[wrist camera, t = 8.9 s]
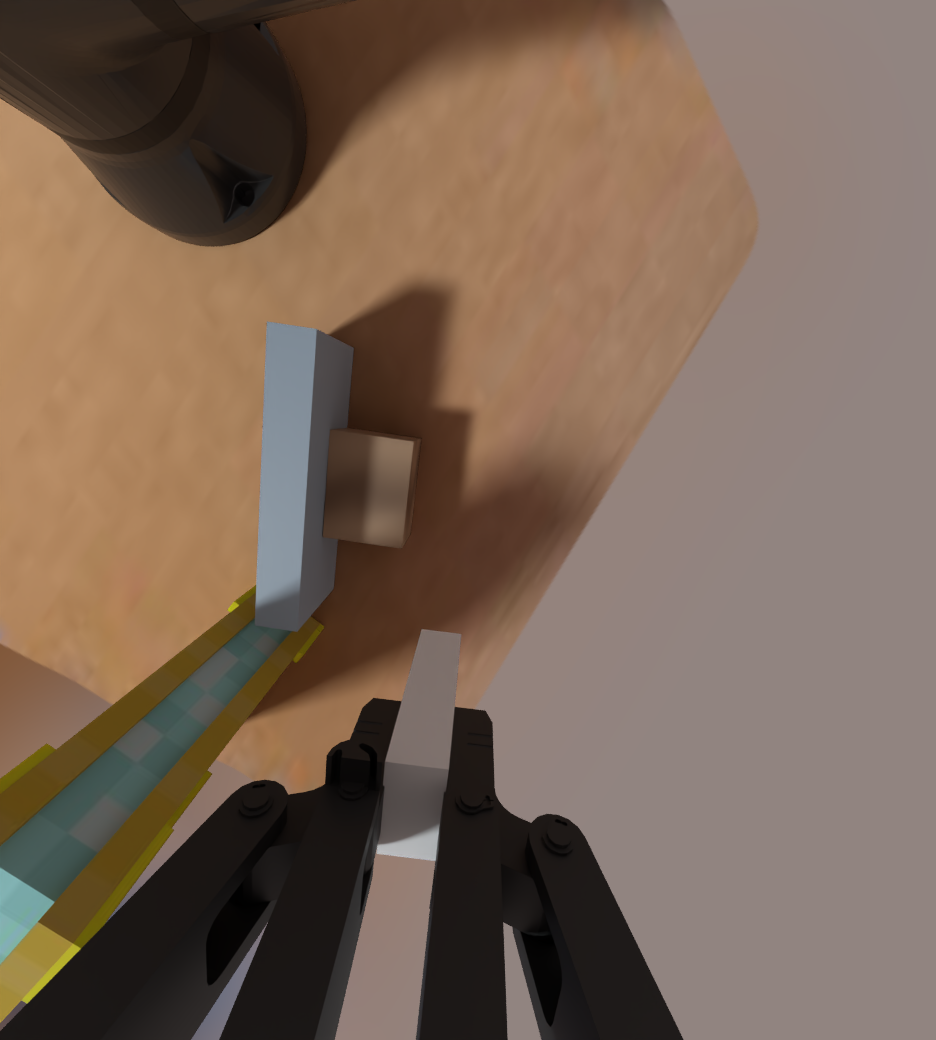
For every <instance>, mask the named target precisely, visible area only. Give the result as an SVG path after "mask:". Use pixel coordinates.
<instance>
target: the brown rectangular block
mask: <svg viewBox="0 0 936 1040" xmlns="http://www.w3.org/2000/svg"><path fill="white" fill-rule="evenodd" d="M421 439H422V438H416V437H409V436H402V435H395V434H388V433H381V432H374V431H367V430H360V429H353V428H341V429H332V430H330V436H329V451H328V466H327V481H326V496H325V511H324V526H323V537H324V538H331V539H338V540H345V541H352V542H359V543H366V544H373V545H380V546H387V547H394V548H401V549H402V548H403V546H404V544H405V543H406V541H407V539H408V538H409V536H410V534H411V527H412V518H413V510H414V501H415V492H416V483H417V474H418V466H419V457H420V448H421Z"/></svg>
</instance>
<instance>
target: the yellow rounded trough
mask: <svg viewBox="0 0 936 1040" xmlns="http://www.w3.org/2000/svg"><path fill="white" fill-rule="evenodd" d="M255 607H256V585H255V586H254V587H253V588H251V589H250V590H249V591H248V592H246V593H245V594H244V595H242V596H241V597H240V598H238V599H237V600H236V601H234V602H233V604H232V605H231V606H230V607H229V609H228V611H229V612H230V613H229V614H228V615H226V616H225V617H224V618H223V619H221V620H220V621H219V622H218V623H216V624H215V625H214V626H213V627H211V628H210V629H209V630H207V631H206V632H205V633H204V634H202V635H201V636H200V637H199V638H197V639H196V640H195V641H193V642H192V643H191V644H190V645H188V646H187V647H186V648H185V649H183V650H182V651H181V652H180V653H178V654H177V655H176V656H174V657H173V658H172V659H171V660H169V661H168V662H167V663H166V664H164V665H163V666H162V667H161V668H159V669H158V670H157V671H155V672H154V673H153V674H152V675H150V676H149V677H148V678H147V679H145V680H144V681H143V682H142V683H140V684H139V685H138V686H136V687H135V688H134V689H133V690H131V691H130V692H129V693H128V694H126V695H125V696H124V697H122V698H121V699H120V700H119V701H117V702H116V703H115V704H114V705H112V706H111V707H110V708H109V709H107V710H106V711H105V712H103V713H102V714H101V715H100V716H98V717H97V718H96V719H95V720H93V721H92V722H91V723H90V724H88V725H87V726H86V727H85V728H83V729H82V730H81V731H79V732H78V733H77V734H76V735H74V736H73V737H72V738H71V739H69V740H68V741H67V742H65V743H64V744H63V745H62V746H60V747H59V748H58V749H57V750H56V749H54V748H53V747H51V746H50V745H48V744H45V745H44V746H43V747H41V748H40V749H39V750H38V751H36V752H35V753H34V754H32V755H31V756H30V757H28V758H27V759H26V760H24V761H23V762H22V763H20V764H19V765H18V766H16V767H15V768H14V769H12V770H11V771H10V772H8V773H7V774H6V775H4V776H3V777H2V778H1V779H0V1023H1V1022H2V1020H3V1019H4V1018H5V1017H6V1016H7V1015H8V1014H9V1013H10V1012H11V1011H12V1009H13V1008H14V1007H15V1006H16V1005H17V1004H18V1003H19V1002H20V1001H21V1000H22V1001H24V1002H26V1003H28V1002H29V1001H30V1000H31V999H32V998H33V997H34V996H35V995H36V994H37V993H38V992H39V991H40V990H41V989H42V988H43V987H44V986H45V985H46V984H47V983H48V982H49V981H50V980H51V979H52V978H53V977H54V976H55V975H56V974H57V973H58V972H59V971H60V970H61V969H62V968H63V966H64V965H65V964H66V963H67V962H68V961H69V960H70V959H71V958H72V957H73V956H74V955H75V954H76V953H77V952H78V951H79V950H80V949H81V948H82V947H83V946H84V945H85V944H86V943H87V942H88V941H89V940H90V939H91V938H92V937H93V936H94V935H95V934H96V933H97V932H98V931H99V930H100V929H101V928H102V927H103V926H104V924H105V923H106V922H107V920H108V919H109V917H110V916H111V915H112V913H113V912H114V911H115V909H116V908H117V907H118V905H119V904H120V902H121V901H122V900H123V898H124V897H125V896H126V894H127V893H128V892H129V890H130V889H131V888H132V886H133V885H134V883H135V882H136V881H137V880H138V878H139V877H140V875H141V874H142V873H143V871H144V870H145V869H146V867H147V866H148V865H149V863H150V862H151V860H152V859H153V858H154V857H155V855H156V854H157V852H158V851H159V850H160V848H161V847H162V846H163V844H164V843H165V842H166V840H167V839H168V838H169V836H170V835H171V834H172V832H173V831H174V830H173V829H172V827H173V826H174V824H175V823H176V822H177V820H178V819H179V818H180V816H181V815H182V814H183V812H184V811H185V809H186V808H187V807H188V805H189V804H190V803H191V802H192V800H193V799H194V798H195V796H196V795H197V793H198V792H199V791H200V790H201V788H202V787H203V785H204V784H205V783H206V782H207V780H208V779H209V778H210V776H211V775H212V773H210V772H209V771H207V770H208V768H209V767H210V766H211V764H212V763H213V762H214V761H215V759H216V758H217V757H218V755H219V754H220V753H221V752H222V750H223V749H224V748H225V746H226V745H227V744H228V743H229V741H230V740H231V739H232V737H233V736H234V735H235V733H236V732H237V731H238V730H239V728H240V727H241V726H242V724H243V723H244V722H245V721H246V719H247V718H248V717H249V715H250V714H251V713H252V711H253V710H254V709H255V708H256V706H257V705H258V704H259V702H260V701H261V700H262V699H263V697H264V696H265V695H266V693H267V692H268V691H269V689H270V688H271V687H272V686H273V684H274V683H275V682H276V680H277V679H278V678H279V677H280V675H281V674H282V673H283V671H284V670H285V669H286V667H287V666H288V665H289V664H290V662H291V661H292V660H293V661H294V662H295V663H297V662H298V661H299V660H300V659H301V658H302V657H303V655H304V654H305V653H306V651H307V650H308V649H309V647H310V646H311V645H312V643H313V642H314V641H315V639H316V638H317V637H318V635H319V634H320V632H321V631H322V630H323V629H324V626H323V625H321V624H320V623H319V622H318V621H316V620H315V619H314V618H313V617H311V616H310V617H309V618H308V620H307V621H306V622H305V623H304V624H303V626H302V627H301V628H300V629H299V630H298V631H297V632H295V631H289V630H282V629H275V628H269V627H262V626H255Z"/></svg>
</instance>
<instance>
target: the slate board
mask: <svg viewBox="0 0 936 1040" xmlns="http://www.w3.org/2000/svg"><path fill="white" fill-rule="evenodd" d="M353 352H354V348H353V347H351V346H349V345H347V344H345V343H343V342H341V341H339V340H337V339H335V338H333V337H331V336H329V335H327V334H325V333H323V332H321V331H319V330H317V329H312V328H306V327H299V326H293V325H286V324H280V323H273V322H267V335H266V360H265V384H264V409H263V434H262V459H261V483H260V508H259V533H258V557H257V582H256V607H255V626H262V627H269V628H275V629H282V630H289V631H295V632H297V631H298V630H299V629H300V628H301V627H302V626H303V624H304V623H305V622H306V621H307V620H308V618H309V617H310V616H311V615H312V614H313V613H314V611H315V610H316V609H317V608H318V607H319V606H320V604H321V603H322V602H323V601H324V600H325V598H326V597H327V596H328V595H329V594H330V593H331V591H332V590H333V589H334V580H335V568H336V556H337V544H338V539H331V538H324V537H323V526H324V511H325V496H326V481H327V466H328V451H329V436H330V430H332V429H341V428H347V424H348V412H349V400H350V388H351V376H352V364H353Z"/></svg>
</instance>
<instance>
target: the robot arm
mask: <svg viewBox="0 0 936 1040" xmlns="http://www.w3.org/2000/svg"><path fill="white" fill-rule="evenodd" d="M351 1H355V0H0V98H1V99H2V100H4V101H5V102H7V103H9V104H10V105H12V106H13V107H15V108H16V109H18V110H20V111H21V112H23V113H24V114H26V115H27V116H29V117H31V118H32V119H34V120H35V121H37V122H39V123H40V124H42V125H44V126H45V127H47V128H48V129H50V130H51V131H53V132H54V133H56V134H57V135H59V136H60V137H61V138H62V139H63V140H64V142H65V143H66V144H67V145H68V146H69V147H70V148H71V149H72V151H73V152H74V153H75V154H76V155H77V156H78V157H79V159H80V160H81V161H82V162H83V163H84V164H85V165H86V166H87V167H88V169H89V170H90V171H91V172H92V173H93V175H94V176H95V177H96V178H97V180H98V181H99V182H100V184H101V185H102V186H103V187H104V189H105V190H106V191H107V192H108V193H109V194H110V195H111V196H112V197H113V198H114V199H115V200H116V201H117V202H118V203H119V204H120V205H121V206H123V207H124V208H125V209H126V210H127V211H129V212H130V213H131V214H133V215H134V216H135V217H137V218H138V219H140V220H141V221H143V222H145V223H146V224H148V225H150V226H152V227H154V228H155V229H157V230H159V231H161V232H162V233H164V234H166V235H168V236H170V237H172V238H174V239H177V240H180V241H182V242H186V243H189V244H194V245H199V246H225V245H230V244H235V243H238V242H241V241H244V240H246V239H248V238H250V237H252V236H254V235H256V234H258V233H259V232H261V231H262V230H263V229H265V228H266V227H267V226H269V225H270V224H271V223H272V222H273V221H274V220H275V219H276V218H277V217H278V216H279V214H280V213H281V212H282V211H283V209H284V208H285V207H286V205H287V203H288V202H289V200H290V199H291V197H292V195H293V193H294V191H295V189H296V186H297V184H298V181H299V178H300V175H301V172H302V168H303V164H304V158H305V152H306V118H305V110H304V104H303V100H302V96H301V92H300V89H299V86H298V83H297V80H296V77H295V75H294V73H293V70H292V68H291V66H290V64H289V62H288V60H287V58H286V56H285V55H284V53H283V51H282V49H281V47H280V46H279V44H278V42H277V40H276V38H275V37H274V35H273V33H272V32H271V30H270V28H269V27H268V25H267V24H266V23H265V21H269V20H273V19H278V18H282V17H286V16H290V15H295V14H299V13H303V12H308V11H312V10H316V9H321V8H325V7H329V6H333V5H338V4H342V3H346V2H351ZM460 643H461V634H457V633H449V632H441V631H433V630H425V629H422V630H421V633H420V637H419V640H418V644H417V648H416V651H415V655H414V659H413V662H412V666H411V669H410V673H409V677H408V680H407V684H406V688H405V691H404V695H403V698H402V701H394V700H386V699H378V698H373V699H372V700H371V701H370V702H368V703H367V704H366V705H365V706H364V707H363V708H362V711H361V713H360V716H359V718H358V722H357V723H356V726H355V728H354V732H353V733H352V736H351V738H350V740H347V741H344V742H341V743H339V744H338V745H336V746H335V747H333V748H332V749H331V750H330V752H329V753H328V755H327V761H326V779H325V784H324V785H323V786H321V787H319V788H317V789H315V790H311V791H307V792H303V793H296V794H290V795H288V793H287V792H286V790H285V788H284V786H282V785H281V784H279V783H278V782H276V781H270V780H261V781H254V782H251V783H249V784H247V785H244V786H242V787H240V788H239V789H238V790H237V791H235V792H234V793H233V794H232V795H231V796H230V797H229V798H228V799H227V800H226V801H225V802H224V803H223V804H222V805H221V806H220V807H219V808H218V809H217V810H216V811H215V812H214V813H213V814H212V815H211V816H210V817H209V818H208V819H207V820H206V821H205V822H204V823H203V824H202V825H201V826H200V827H199V828H198V829H197V830H196V831H195V832H194V833H193V834H192V835H191V836H190V837H189V839H188V840H187V841H186V842H185V843H184V844H183V845H182V846H181V847H180V848H179V849H178V850H177V851H176V852H175V853H174V854H173V855H172V856H171V857H170V858H169V859H168V860H167V861H166V862H165V863H164V864H163V865H162V866H161V867H160V868H159V869H158V871H156V872H155V873H154V874H153V875H152V876H151V878H150V879H149V880H148V881H147V882H146V883H145V884H144V885H143V886H142V887H141V888H140V889H139V890H138V891H137V892H136V893H135V894H134V895H133V896H132V897H131V898H130V899H129V900H128V901H127V902H126V903H125V904H124V905H123V906H122V907H121V908H120V909H119V910H118V911H117V912H116V913H115V914H114V915H113V916H112V917H111V918H110V919H109V920H108V921H107V922H106V923H105V925H104V926H103V927H102V928H101V929H100V930H99V931H98V932H97V933H96V934H95V935H94V936H93V937H92V938H91V939H90V940H89V941H88V942H87V943H86V944H85V945H84V946H83V947H82V948H81V949H80V950H79V951H78V952H77V953H76V954H75V955H74V956H73V957H72V958H71V959H70V960H69V961H68V962H67V963H66V964H65V965H64V966H63V968H62V969H61V970H60V971H59V972H58V973H57V974H56V975H55V976H54V977H53V978H52V979H51V980H50V981H49V982H48V983H47V984H46V985H45V986H44V987H43V988H42V989H41V990H40V991H39V992H38V993H37V994H36V995H35V996H34V997H33V998H32V999H31V1000H30V1001H29V1002H28V1003H27V1004H26V1006H24V1007H23V1009H22V1010H21V1011H20V1012H19V1013H18V1014H17V1015H16V1016H15V1017H14V1018H13V1019H12V1020H11V1021H10V1022H9V1023H8V1024H7V1025H6V1026H5V1027H4V1028H3V1029H2V1030H1V1031H0V1040H191V1039H192V1037H193V1036H194V1034H195V1032H196V1031H197V1029H198V1028H199V1026H200V1025H201V1023H202V1022H203V1020H204V1019H205V1017H206V1016H207V1014H208V1013H209V1011H210V1010H211V1008H212V1006H213V1005H214V1003H215V1002H216V1000H217V999H218V997H219V996H220V994H221V993H222V991H223V989H224V988H225V987H226V985H227V984H228V982H229V980H230V979H231V977H232V976H233V974H234V973H235V971H236V970H237V968H238V967H239V965H240V964H241V962H242V961H243V959H244V958H245V956H246V954H247V953H248V951H249V950H250V948H251V947H252V945H253V944H254V942H255V941H256V939H257V938H258V936H259V935H260V933H261V932H262V930H263V929H264V927H265V925H266V924H267V922H268V924H267V926H266V928H265V931H264V933H263V936H262V938H261V940H260V943H259V946H258V948H257V950H256V953H255V955H254V957H253V960H252V962H251V965H250V967H249V970H248V972H247V974H246V977H245V979H244V981H243V984H242V986H241V989H240V991H239V994H238V996H237V998H236V1001H235V1003H234V1006H233V1008H232V1011H231V1013H230V1016H229V1018H228V1020H227V1022H226V1025H225V1027H224V1030H223V1032H222V1035H221V1037H220V1039H219V1040H335V1035H336V1031H337V1027H338V1023H339V1018H340V1014H341V1009H342V1005H343V1001H344V997H345V993H346V988H347V984H348V979H349V975H350V971H351V967H352V962H353V958H354V954H355V950H356V945H357V941H358V937H359V932H360V928H361V923H362V919H363V915H364V911H365V906H366V902H367V898H368V894H369V889H370V885H371V881H372V875H373V864H374V858H375V853H376V849H377V853H378V854H383V855H392V856H399V857H407V858H416V859H423V860H432V861H435V870H434V879H433V885H432V893H431V900H430V914H429V924H428V932H427V942H426V951H425V960H424V969H423V979H422V988H421V998H420V1007H419V1016H418V1025H417V1035H416V1040H508V1039H507V1014H506V988H505V987H506V986H505V960H504V934H503V922H504V923H506V924H508V925H510V926H512V927H513V934H514V938H515V941H516V945H517V949H518V953H519V956H520V960H521V964H522V968H523V972H524V975H525V979H526V983H527V987H528V990H529V994H530V998H531V1002H532V1005H533V1009H534V1013H535V1017H536V1020H537V1024H538V1028H539V1032H540V1035H541V1039H542V1040H683V1038H682V1036H681V1034H680V1032H679V1030H678V1027H677V1025H676V1023H675V1021H674V1019H673V1017H672V1015H671V1013H670V1011H669V1009H668V1007H667V1005H666V1003H665V1001H664V999H663V997H662V995H661V992H660V991H659V989H658V986H657V984H656V982H655V980H654V978H653V976H652V974H651V972H650V970H649V968H648V966H647V964H646V962H645V959H644V957H643V955H642V953H641V951H640V949H639V948H638V945H637V943H636V941H635V939H634V937H633V935H632V933H631V931H630V929H629V927H628V925H627V923H626V920H625V918H624V916H623V914H622V912H621V910H620V908H619V906H618V904H617V902H616V900H615V898H614V896H613V894H612V892H611V890H610V887H609V885H608V883H607V881H606V879H605V878H604V875H603V873H602V871H601V869H600V867H599V865H598V863H597V861H596V859H595V857H594V855H593V852H592V851H591V848H590V846H589V845H588V842H587V840H586V838H585V836H584V835H583V834H582V832H581V831H580V829H579V828H578V827H577V826H576V825H575V824H573V823H572V822H571V821H570V820H569V819H566V818H564V817H562V816H559V815H552V814H545V815H542V816H539V817H537V818H536V819H535V820H534V821H533V822H532V823H530V822H528V821H525V820H523V819H521V818H518V817H517V816H515V815H513V814H511V813H510V812H509V811H507V810H506V809H505V808H504V807H503V806H502V804H501V803H500V802H499V800H498V798H497V796H496V794H495V788H494V761H493V760H494V759H493V728H492V721H491V720H490V718H489V716H488V714H487V713H486V711H483V710H475V709H467V708H459V707H455V697H456V686H457V676H458V665H459V654H460Z"/></svg>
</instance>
